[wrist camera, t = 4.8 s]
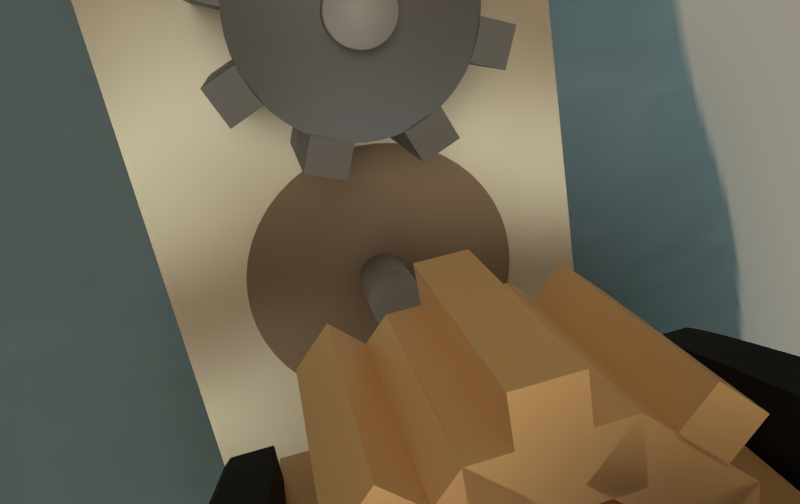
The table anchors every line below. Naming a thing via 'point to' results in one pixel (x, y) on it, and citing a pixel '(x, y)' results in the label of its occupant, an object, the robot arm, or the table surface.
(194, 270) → the gear board
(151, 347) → the table surface
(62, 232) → the table surface
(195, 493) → the table surface
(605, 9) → the table surface
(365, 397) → the orange gear
